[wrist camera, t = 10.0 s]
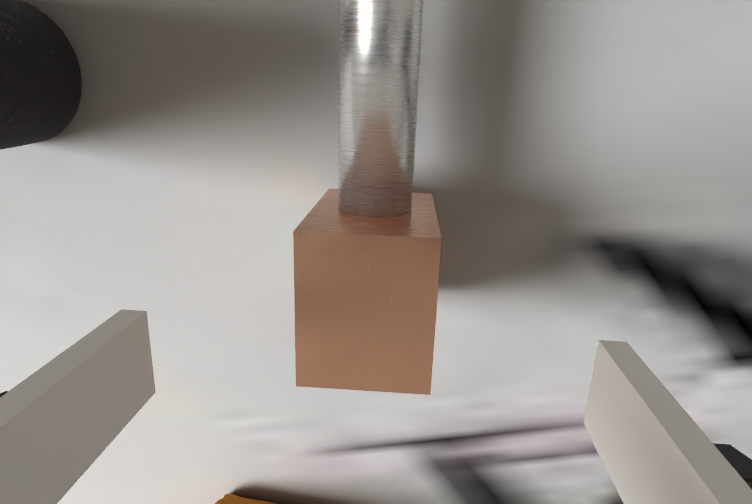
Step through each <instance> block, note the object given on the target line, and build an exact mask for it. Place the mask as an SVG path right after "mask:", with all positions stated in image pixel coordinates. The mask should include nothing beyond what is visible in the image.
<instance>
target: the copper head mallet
mask: <svg viewBox="0 0 752 504" xmlns="http://www.w3.org/2000/svg"><path fill="white" fill-rule="evenodd" d="M422 8H423V0H341V3H340V97H339V189H329V190H328V191H327V192H326V193H325V194H324V196H323V197H322V198H321V199H320V200H319V202H318V203H317V204H316V205H315V206H314V208H313V209H312V210H311V211H310V212H309V213H308V215H307V216H306V217H305V218H304V219H303V221H302V222H301V223H300V224H299V225H298V226H297V228H296V229H295V230H294V289H295V349H296V386H303V387H319V388H334V389H350V390H365V391H381V392H397V393H412V394H428V395H430V390H431V376H432V363H433V349H434V336H435V322H436V309H437V296H438V282H439V269H440V255H441V242H442V237H441V233H440V228H439V224H438V219H437V214H436V210H435V205H434V201H433V196H432V193H413V192H412V191H413V173H414V154H415V136H416V118H417V100H418V81H419V63H420V45H421V27H422Z"/></svg>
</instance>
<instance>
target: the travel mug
mask: <svg viewBox="0 0 752 504" xmlns="http://www.w3.org/2000/svg"><path fill="white" fill-rule="evenodd" d="M80 95H81V75H80V69H79V65H78V62H77V58H76V56H75V53H74V51H73V48H72V47H71V45H70V43H69V41H68V39H67V38H66V36H65V35H64V34H63V32H62V31H61V30H60V28H59V27H58V26H57V25H56V24H55V23H54V22H53V21H52V20H51V19H50V18H49V17H48V16H47V15H45V14H44V13H42V12H41V11H40V10H38V9H37V8H35V7H33V6H32V5H30V4H28V3H25V2H23V1H21V0H0V149H6V148H11V147H17V146H22V145H27V144H32V143H36V142H40V141H43V140H46V139H49V138H51V137H53V136H55V135H56V134H58V133H59V132H60V131H62V130H63V129H64V128H65V127H66V126H67V125H68V124H69V122H70V121H71V120H72V118H73V116H74V114H75V112H76V110H77V107H78V104H79V100H80Z"/></svg>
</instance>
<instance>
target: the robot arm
mask: <svg viewBox="0 0 752 504" xmlns="http://www.w3.org/2000/svg"><path fill="white" fill-rule="evenodd" d="M154 393H155V384H154V375H153V366H152V357H151V348H150V339H149V330H148V320H147V311H135V310H120V311H119V312H118V313H116V314H115V315H114V316H112V317H111V318H109V319H108V320H107V321H105V322H104V323H102V324H101V325H100V326H98V327H97V328H96V329H94V330H93V331H91V332H90V333H89V334H87V335H86V336H85V337H83V338H82V339H80V340H79V341H78V342H76V343H75V344H73V345H72V346H71V347H69V348H68V349H67V350H65V351H64V352H62V353H61V354H60V355H58V356H57V357H56V358H54V359H53V360H51V361H50V362H49V363H47V364H46V365H44V366H43V367H42V368H40V369H39V370H38V371H36V372H35V373H33V374H32V375H31V376H29V377H28V378H27V379H25V380H24V381H22V382H21V383H20V384H18V385H17V386H15V387H14V388H13V389H11V390H10V391H5V392H3V393H1V394H0V504H57V503H58V502H59V501H60V499H61V498H62V497H63V496H64V495H65V494H66V493H67V492H68V490H69V489H70V488H71V487H72V486H73V485H74V484H75V482H76V481H77V480H78V479H79V478H80V477H81V476H82V475H83V473H84V472H85V471H86V470H87V469H88V468H89V467H90V466H91V464H92V463H93V462H94V461H95V460H96V459H97V458H98V456H99V455H100V454H101V453H102V452H103V451H104V450H105V449H106V447H107V446H108V445H109V444H110V443H111V442H112V441H113V439H114V438H115V437H116V436H117V435H118V434H119V433H120V432H121V430H122V429H123V428H124V427H125V426H126V425H127V424H128V422H129V421H130V420H131V419H132V418H133V417H134V416H135V415H136V413H137V412H138V411H139V410H140V409H141V408H142V407H143V406H144V404H145V403H146V402H147V401H148V400H149V399H150V398H151V396H152V395H153V394H154ZM584 426H585V428H586V430H587V432H588V434H589V436H590V438H591V440H592V442H593V444H594V446H595V448H596V450H597V452H598V454H599V456H600V458H601V460H602V462H603V464H604V466H605V468H606V469H607V471H608V473H609V475H610V477H611V479H612V481H613V483H614V485H615V487H616V489H617V491H618V493H619V495H620V497H621V499H622V501H623V503H624V504H752V460H751V459H750V458H748V457H747V456H745V455H744V454H742V453H741V452H740V451H738V450H737V449H735V448H734V447H732V446H731V445H727V444H714V443H712V442H711V441H710V440H709V438H708V437H707V436H706V435H705V434H704V433H703V431H702V430H701V429H700V428H699V427H698V425H697V424H696V423H695V422H694V421H693V420H692V418H691V417H690V416H689V415H688V414H687V412H686V411H685V410H684V409H683V408H682V407H681V405H680V404H679V403H678V402H677V401H676V399H675V398H674V397H673V396H672V395H671V394H670V392H669V391H668V390H667V389H666V388H665V387H664V385H663V384H662V383H661V382H660V381H659V379H658V378H657V377H656V376H655V375H654V374H653V372H652V371H651V370H650V369H649V368H648V366H647V365H646V364H645V363H644V362H643V361H642V359H641V358H640V357H639V356H638V355H637V354H636V352H635V351H634V350H633V349H632V348H631V346H630V345H629V344H628V343H627V342H620V341H604V340H599V341H598V347H597V352H596V358H595V363H594V369H593V374H592V380H591V385H590V391H589V396H588V402H587V408H586V413H585V419H584Z"/></svg>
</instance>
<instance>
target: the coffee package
mask: <svg viewBox="0 0 752 504" xmlns="http://www.w3.org/2000/svg"><path fill="white" fill-rule="evenodd" d="M215 504H277V503H272V502H267V501H261V500H255V499H249V498H243V497H239V496H236V495H234V494H226V495H225V496H224V498H222V499H220V500H218V501H217V502H216V503H215Z"/></svg>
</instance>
